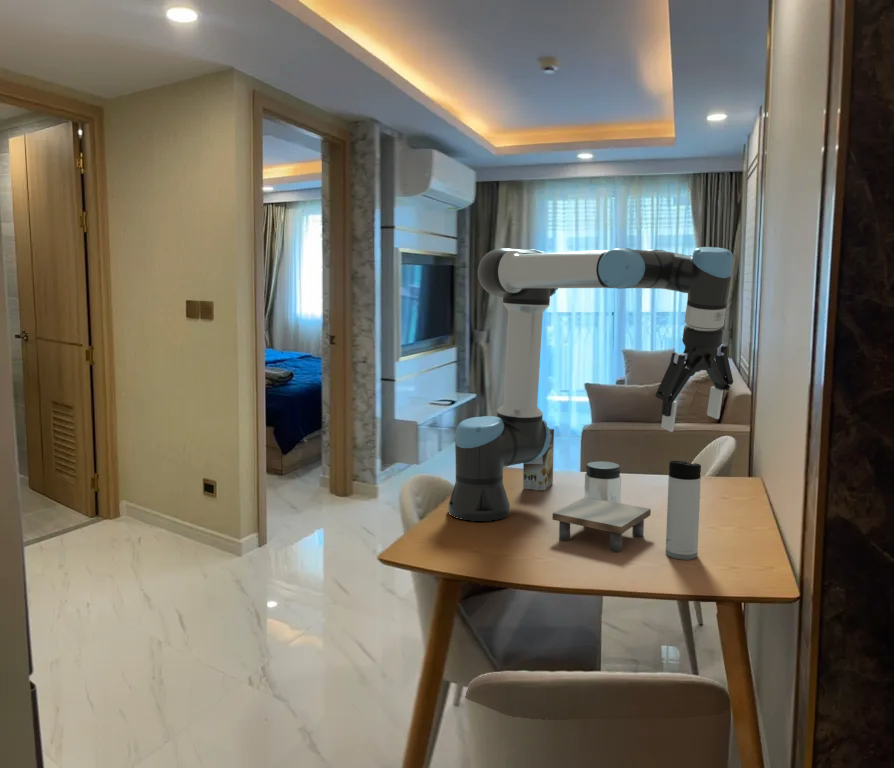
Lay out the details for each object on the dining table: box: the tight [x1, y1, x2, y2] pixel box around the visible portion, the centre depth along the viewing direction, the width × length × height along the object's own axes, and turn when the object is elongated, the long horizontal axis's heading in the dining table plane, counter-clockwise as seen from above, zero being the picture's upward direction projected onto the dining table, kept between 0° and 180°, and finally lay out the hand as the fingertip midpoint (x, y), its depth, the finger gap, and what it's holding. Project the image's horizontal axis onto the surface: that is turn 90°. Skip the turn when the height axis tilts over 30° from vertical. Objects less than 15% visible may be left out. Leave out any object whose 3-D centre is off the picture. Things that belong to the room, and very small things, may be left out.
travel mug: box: [665, 460, 702, 561], centre depth 148 cm, size 6×7×20 cm
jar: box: [584, 460, 622, 503], centre depth 178 cm, size 9×8×12 cm
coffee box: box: [522, 428, 555, 491], centre depth 202 cm, size 9×6×16 cm
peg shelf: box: [552, 496, 652, 553], centre depth 160 cm, size 16×16×6 cm
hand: (690, 423), depth 152 cm, fingers open, 13 cm apart
